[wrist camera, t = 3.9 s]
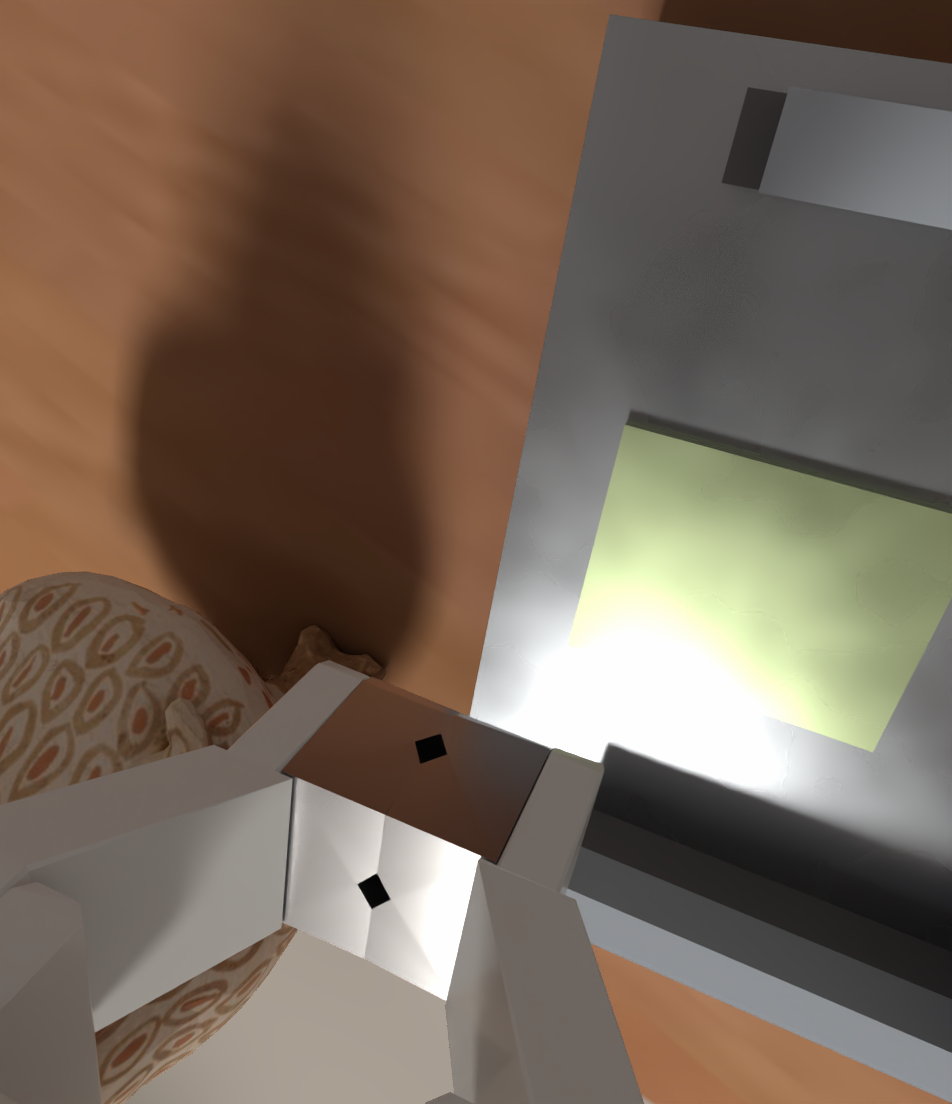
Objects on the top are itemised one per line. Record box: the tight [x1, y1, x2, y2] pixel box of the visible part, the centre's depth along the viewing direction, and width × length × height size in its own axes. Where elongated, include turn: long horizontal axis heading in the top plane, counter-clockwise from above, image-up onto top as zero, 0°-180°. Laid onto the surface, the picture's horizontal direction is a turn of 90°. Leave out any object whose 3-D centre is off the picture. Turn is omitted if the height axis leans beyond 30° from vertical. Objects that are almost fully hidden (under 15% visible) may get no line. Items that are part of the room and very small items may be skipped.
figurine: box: [0, 572, 386, 1104], centre depth 15 cm, size 9×10×15 cm
